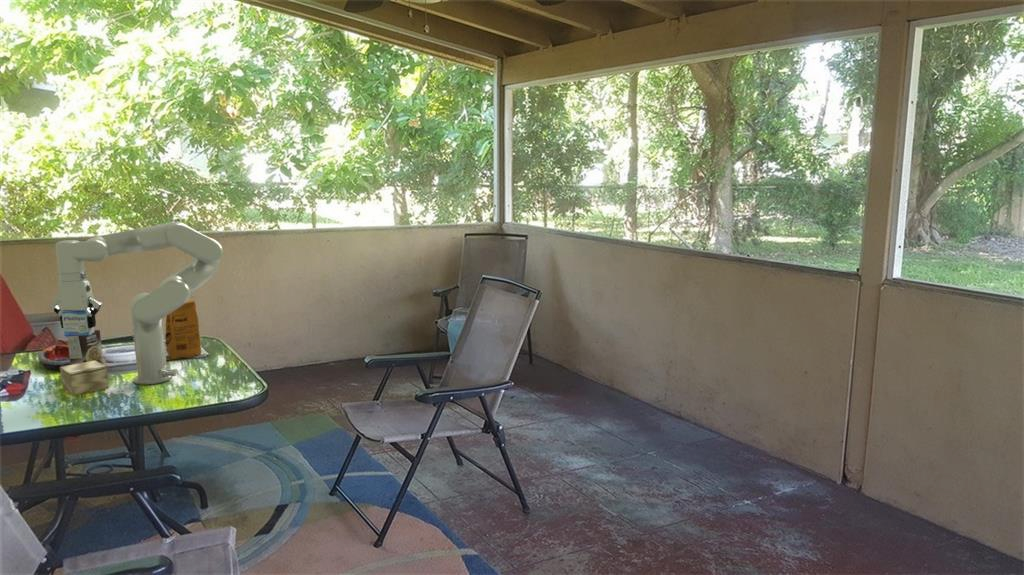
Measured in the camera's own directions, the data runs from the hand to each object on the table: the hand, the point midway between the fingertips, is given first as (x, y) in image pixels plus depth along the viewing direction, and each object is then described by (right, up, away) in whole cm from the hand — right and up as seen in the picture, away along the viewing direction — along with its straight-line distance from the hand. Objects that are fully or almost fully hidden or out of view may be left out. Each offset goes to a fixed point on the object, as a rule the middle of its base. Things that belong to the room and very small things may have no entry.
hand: (78, 327), depth 239 cm
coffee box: (-9, -19, +21) cm, 30 cm away
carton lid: (-1, -14, +4) cm, 15 cm away
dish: (-29, -16, +36) cm, 49 cm away
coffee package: (+15, -14, +46) cm, 50 cm away
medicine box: (0, -3, 0) cm, 3 cm away
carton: (-1, -21, +5) cm, 22 cm away
